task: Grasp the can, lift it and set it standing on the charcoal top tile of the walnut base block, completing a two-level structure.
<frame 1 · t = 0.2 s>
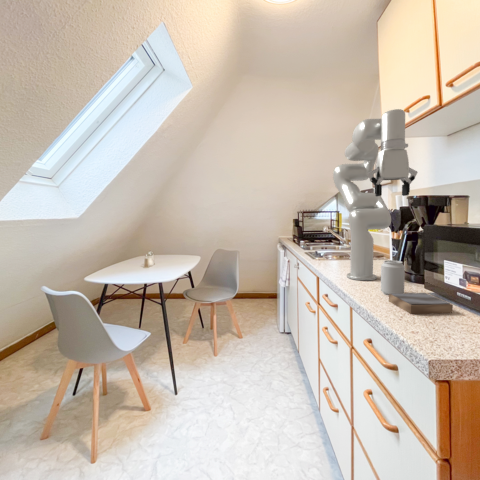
hand: (391, 195, 99), 36 cm above the worktop, tool pointing down, fingers open, 9 cm apart
can: (392, 294, 101), on the worktop
plinth: (418, 308, 86), on the worktop
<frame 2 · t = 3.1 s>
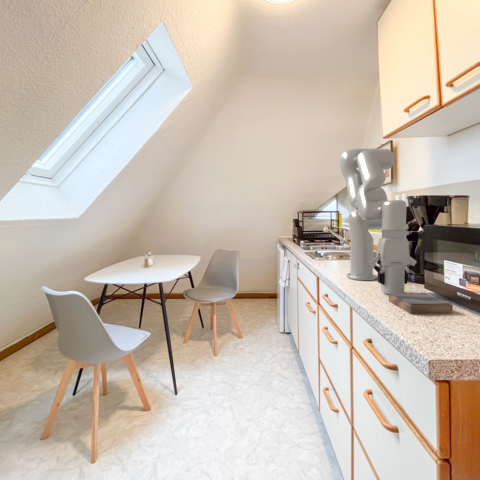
hand: (392, 282, 100), 4 cm above the worktop, tool pointing down, fingers closed on can, 7 cm apart
can: (392, 294, 101), on the worktop, touching gripper
everything else where it was.
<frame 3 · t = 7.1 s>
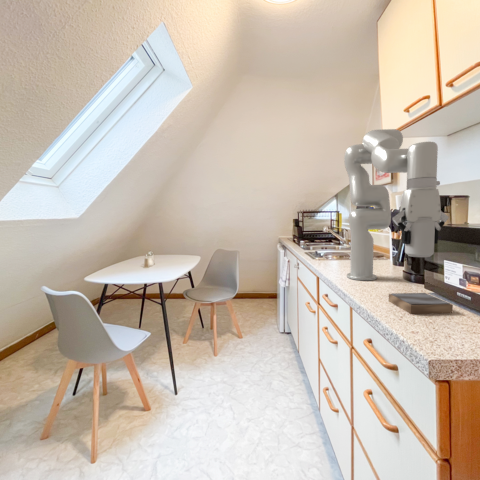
hand: (419, 243, 84), 20 cm above the worktop, tool pointing down, fingers closed on can, 7 cm apart
can: (418, 256, 85), point 16 cm above the worktop, touching gripper
everything else where it was.
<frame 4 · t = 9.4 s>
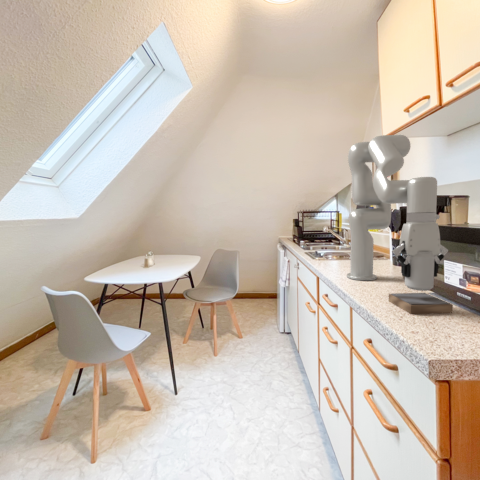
hand: (419, 275, 85), 10 cm above the worktop, tool pointing down, fingers closed on can, 7 cm apart
can: (418, 288, 85), point 6 cm above the worktop, touching gripper
everything else where it was.
when the fingers open (7 cm above the worktop, at t = 11.4 s): can stays where it is, resting on plinth.
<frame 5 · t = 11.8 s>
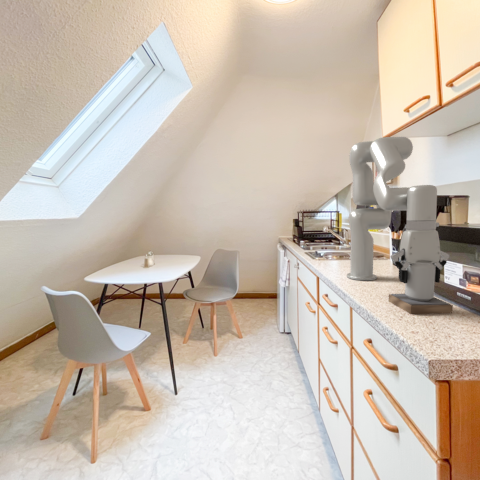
hand: (419, 281, 85), 8 cm above the worktop, tool pointing down, fingers open, 9 cm apart
can: (418, 298, 86), point 3 cm above the worktop, touching plinth
plinth: (418, 308, 86), on the worktop, touching can
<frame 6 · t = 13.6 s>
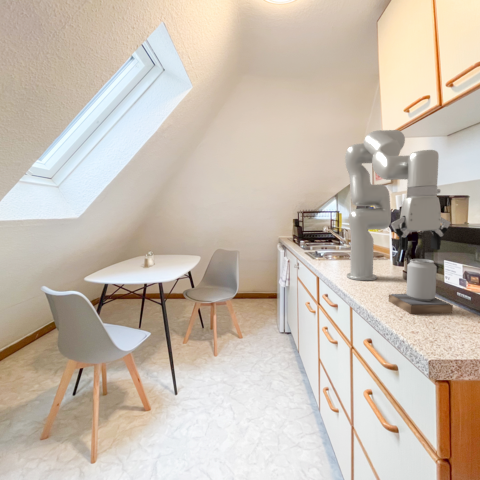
hand: (419, 249, 84), 18 cm above the worktop, tool pointing down, fingers open, 9 cm apart
nothing on the worktop moved.
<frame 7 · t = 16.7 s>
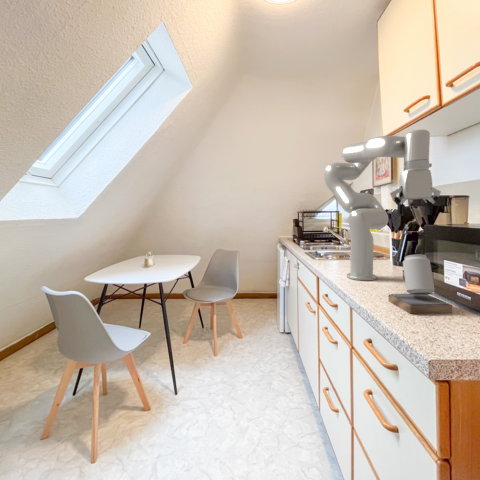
hand: (414, 215, 99), 28 cm above the worktop, tool pointing down, fingers open, 9 cm apart
can: (420, 294, 85), point 4 cm above the worktop, touching plinth
everything else where it was.
at the end: can 0.7 cm off-centre on the plinth, point 4.6 cm above the plinth's base; can tilted 24°; the gripper is holding nothing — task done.
